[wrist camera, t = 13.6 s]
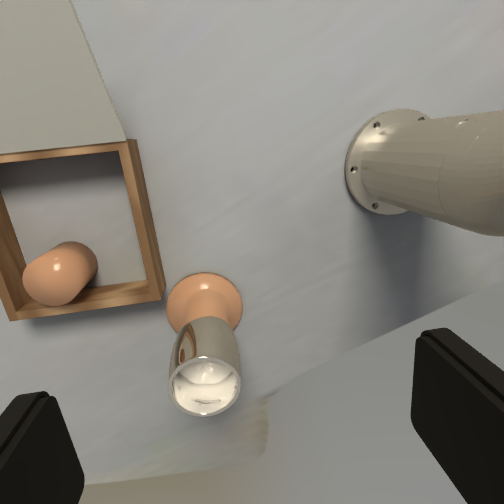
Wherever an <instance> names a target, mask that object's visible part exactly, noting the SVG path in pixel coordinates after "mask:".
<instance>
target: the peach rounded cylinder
mask: <svg viewBox="0 0 504 504" xmlns="http://www.w3.org/2000/svg"><path fill="white" fill-rule="evenodd" d="M97 268H98V263H97V259H96V256H95V255H94V253H93V252H92V251H91V250H90V249H89V248H88V247H87V246H85V245H83V244H81V243H78V242H64V243H61V244H59V245H57V246H56V247H54V248H53V249H51V250H50V251H48V252H46V253H45V254H43V255H42V256H40V257H39V258H37V259H35V260H34V261H32V262H31V263H30V264H28V265H27V267H26V268H25V270H24V272H23V277H22V280H23V285H24V288H25V290H26V291H27V293H28V294H29V295H30V296H31V297H32V298H33V299H34V300H36V301H37V302H39V303H42V304H44V305H49V306H60V305H64V304H66V303H68V302H70V301H71V300H72V299H74V297H75V296H76V295H77V294H78V293H79V292H80V291H81V290H82V289H83V288H84V287H85V285H86V284H87V283H88V282H89V281H90V280H91V279H92V278H93V277H94V275H95V274H96V272H97Z"/></svg>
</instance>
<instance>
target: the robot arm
mask: <svg viewBox="0 0 504 504" xmlns="http://www.w3.org/2000/svg"><path fill="white" fill-rule="evenodd" d="M374 124H375V127H373V125H374ZM351 168H353V170H352V171H351ZM345 175H346V182H347V185H348V188H349V190H350V192H351V194H352V195H353V197H354V199H355V200H356V201H357V202H358V203H359V204H360V205H361V206H363V207H364V208H366V209H367V210H370V211H372V212H375V213H378V214H382V215H396V214H401V213H404V212H407V211H411V212H414V213H417V214H420V215H423V216H426V217H429V218H432V219H435V220H438V221H441V222H445V223H448V224H451V225H454V226H457V227H460V228H463V229H466V230H469V231H473V232H476V233H479V234H483V235H488V236H504V110H502V111H494V112H486V113H478V114H470V115H462V116H454V117H446V118H437V119H430V118H429V117H428V116H427V115H425V114H423V113H421V112H419V111H415V110H411V109H397V110H391V111H388V112H385V113H382V114H380V115H378V116H376V117H374V118H372V119H371V120H370V121H369V122H367V123H366V124H365V125H364V126H363V127H362V128H361V129H360V131H359V132H358V133H357V134H356V136H355V138H354V139H353V141H352V142H351V145H350V148H349V150H348V153H347V157H346V162H345ZM372 204H374V205H373V206H372ZM413 374H414V375H413V388H412V403H411V421H412V424H413V426H414V429H415V430H416V432H417V433H418V435H419V436H420V437H421V439H422V440H423V442H424V443H425V445H426V446H427V447H428V449H429V450H430V452H431V453H432V454H433V456H434V457H435V459H436V460H437V461H438V463H439V464H440V465H441V467H442V468H443V470H444V471H445V473H446V474H447V475H448V477H449V478H450V479H451V481H452V482H453V484H454V485H455V487H456V488H457V490H458V491H459V492H460V494H461V495H462V496H463V498H464V499H465V501H466V502H467V503H468V504H504V371H502V370H501V369H500V368H499V367H497V366H496V365H495V364H493V363H492V362H491V361H489V360H488V359H487V358H486V357H484V356H483V355H482V354H481V353H479V352H478V351H476V350H475V349H474V348H473V347H472V346H470V345H469V344H468V343H466V342H465V341H464V340H462V339H461V338H460V337H458V336H457V335H456V334H455V333H453V332H452V331H451V330H449V329H448V328H438V329H432V330H426V331H423V332H422V333H421V336H420V337H419V338H417V339H416V344H415V359H414V373H413ZM83 488H84V473H83V470H82V467H81V465H80V462H79V459H78V457H77V454H76V451H75V448H74V446H73V443H72V440H71V438H70V435H69V432H68V429H67V427H66V424H65V421H64V419H63V416H62V413H61V410H60V408H59V405H58V402H57V400H56V398H55V397H54V396H49V394H48V393H47V392H45V391H41V392H35V393H28V394H22V395H18V396H16V397H15V398H14V399H13V400H12V402H11V403H10V404H9V405H8V407H7V408H6V409H5V410H4V412H3V413H2V414H1V416H0V504H78V503H79V500H80V497H81V495H82V492H83Z"/></svg>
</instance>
